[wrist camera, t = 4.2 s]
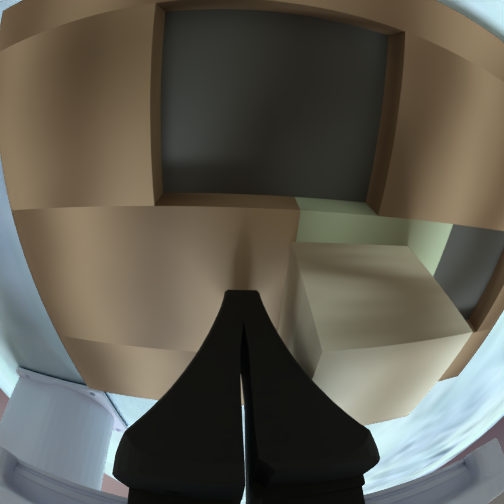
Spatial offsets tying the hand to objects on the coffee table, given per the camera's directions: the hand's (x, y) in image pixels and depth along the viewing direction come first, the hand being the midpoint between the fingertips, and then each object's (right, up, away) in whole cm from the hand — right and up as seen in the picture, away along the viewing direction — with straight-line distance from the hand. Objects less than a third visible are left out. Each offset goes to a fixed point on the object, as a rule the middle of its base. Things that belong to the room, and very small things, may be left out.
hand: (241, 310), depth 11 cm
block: (+4, 0, +1) cm, 4 cm away
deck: (+4, +3, +1) cm, 5 cm away
